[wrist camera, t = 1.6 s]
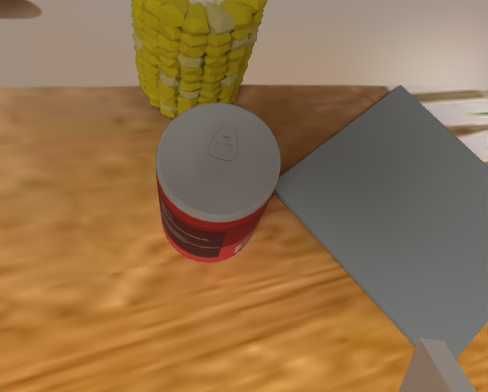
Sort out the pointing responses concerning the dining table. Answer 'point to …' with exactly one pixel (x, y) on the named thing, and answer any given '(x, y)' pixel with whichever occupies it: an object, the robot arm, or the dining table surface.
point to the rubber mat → (402, 217)
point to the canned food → (215, 179)
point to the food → (193, 49)
